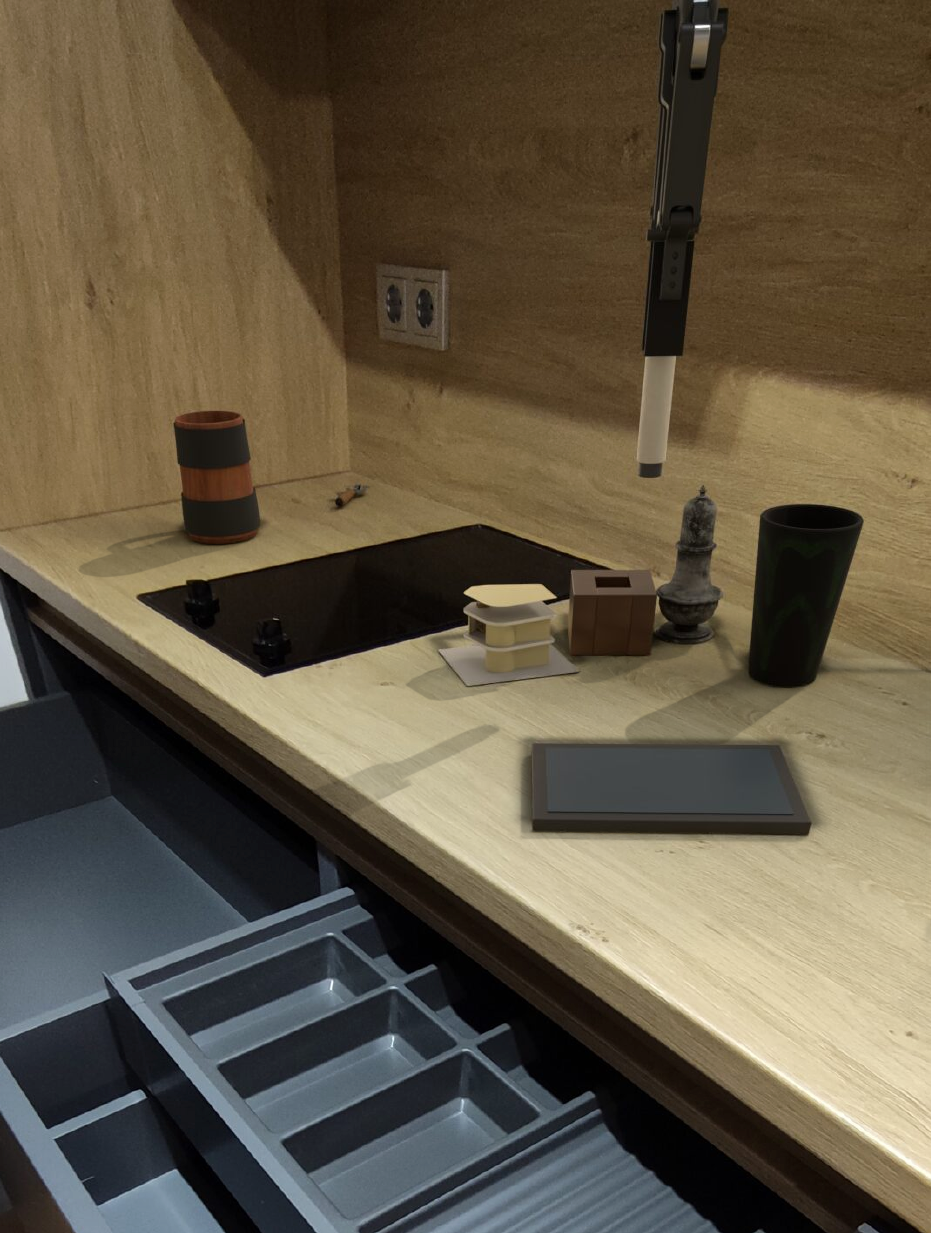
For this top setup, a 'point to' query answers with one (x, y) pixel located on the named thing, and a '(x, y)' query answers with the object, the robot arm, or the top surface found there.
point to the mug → (216, 477)
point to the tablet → (665, 789)
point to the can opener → (349, 494)
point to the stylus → (655, 414)
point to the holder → (611, 612)
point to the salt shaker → (691, 577)
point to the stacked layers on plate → (507, 636)
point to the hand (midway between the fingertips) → (661, 351)
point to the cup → (798, 589)
